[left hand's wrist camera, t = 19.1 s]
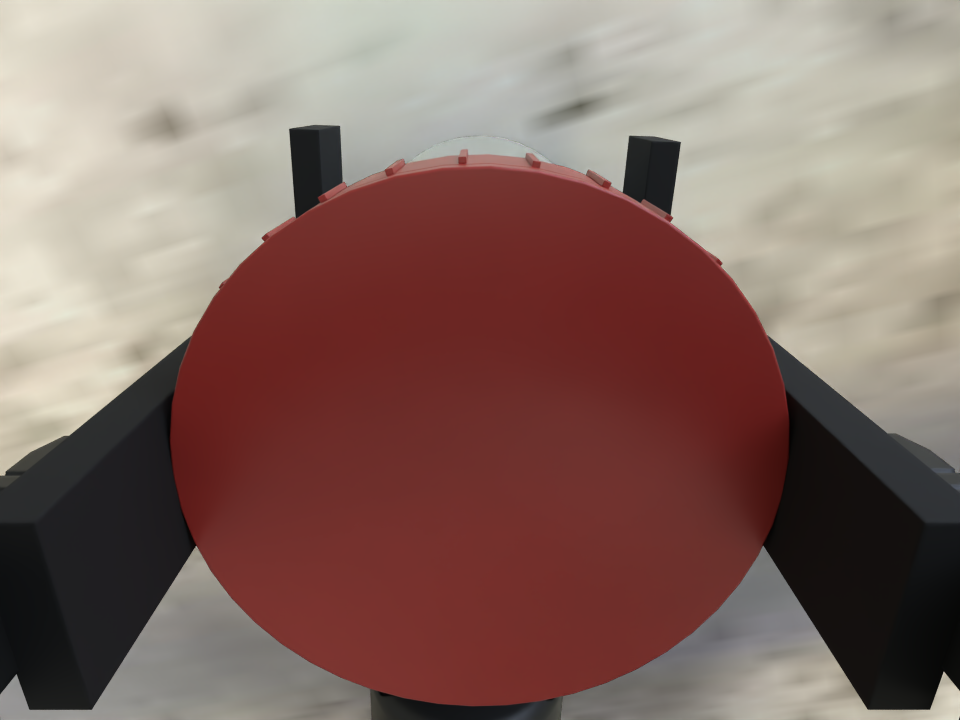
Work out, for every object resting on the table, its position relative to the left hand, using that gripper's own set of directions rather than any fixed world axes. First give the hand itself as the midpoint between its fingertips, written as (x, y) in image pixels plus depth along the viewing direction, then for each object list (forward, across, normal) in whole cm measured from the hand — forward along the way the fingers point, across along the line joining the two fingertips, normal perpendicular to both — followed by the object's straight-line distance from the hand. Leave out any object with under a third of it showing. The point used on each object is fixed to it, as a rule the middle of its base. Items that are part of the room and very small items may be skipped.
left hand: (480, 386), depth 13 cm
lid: (-3, 0, 0) cm, 3 cm away
